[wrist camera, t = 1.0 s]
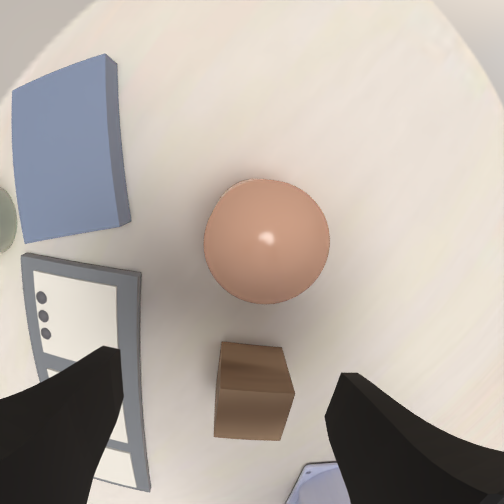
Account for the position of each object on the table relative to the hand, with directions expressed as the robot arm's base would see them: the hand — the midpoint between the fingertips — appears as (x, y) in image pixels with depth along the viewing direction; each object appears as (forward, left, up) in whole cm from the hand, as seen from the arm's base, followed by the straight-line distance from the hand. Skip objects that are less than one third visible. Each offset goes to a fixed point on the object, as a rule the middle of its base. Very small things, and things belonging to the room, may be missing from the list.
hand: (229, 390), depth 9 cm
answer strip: (-12, +10, -10) cm, 18 cm away
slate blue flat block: (+7, +11, -10) cm, 17 cm away
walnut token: (-6, -2, -10) cm, 12 cm away
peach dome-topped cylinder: (+4, -1, -10) cm, 11 cm away
